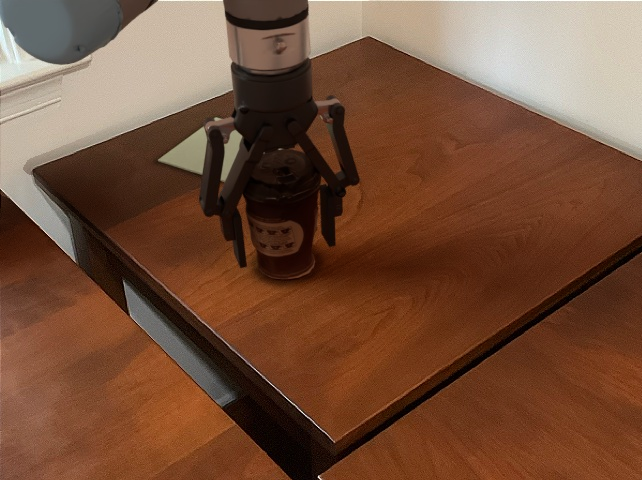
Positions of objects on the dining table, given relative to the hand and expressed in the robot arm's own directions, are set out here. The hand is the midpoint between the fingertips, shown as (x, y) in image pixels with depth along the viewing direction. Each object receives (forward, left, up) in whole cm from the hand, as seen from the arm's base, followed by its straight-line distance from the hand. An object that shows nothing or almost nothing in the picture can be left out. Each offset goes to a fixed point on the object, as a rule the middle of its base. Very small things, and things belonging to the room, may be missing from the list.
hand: (285, 249), depth 90 cm
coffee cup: (0, 0, -2) cm, 2 cm away
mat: (-20, +17, -2) cm, 26 cm away
